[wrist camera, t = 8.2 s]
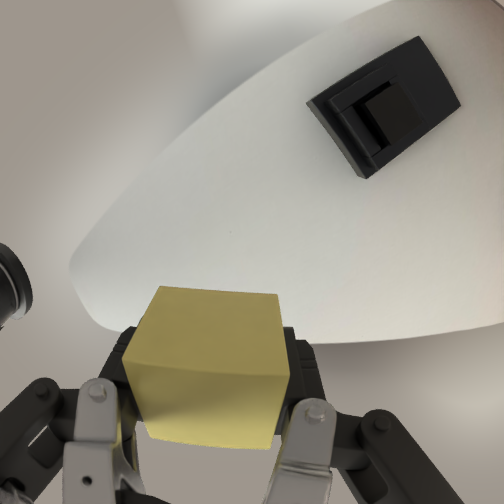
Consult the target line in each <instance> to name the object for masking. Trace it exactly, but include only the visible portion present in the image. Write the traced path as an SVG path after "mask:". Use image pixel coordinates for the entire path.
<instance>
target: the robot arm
mask: <svg viewBox="0 0 504 504" xmlns="http://www.w3.org/2000/svg"><path fill="white" fill-rule="evenodd" d="M19 306H20V297H19V292H18V288H17V285H16V283H15V281H14V279H13V277H12V275H11V273H10V271H9V270H8V268H7V267H6V266H5V265H4V263H3V262H2V261H1V260H0V330H1V329H2V328H3V327H1V326H2V325H3V323H5V321H6V320H7V319H8V318H9V317H10V316H11V315H13V314H14V313H15V312H16V311H17V310H18V309H19ZM142 318H143V317H142ZM142 318H141V319H142ZM140 321H141V320H140ZM139 323H140V322H139ZM138 325H139V324H138ZM137 327H138V326H137ZM137 327H132V326H130V327H129V328H128V329H126V330H125V331H124V332H123V333H121V335H120V337H119V339H118V341H117V344H115V346H114V348H113V351H112V352H111V353H110V356H109V357H108V359H107V361H106V363H105V365H104V367H103V369H102V371H101V372H100V374H99V377H98V378H94V379H91V380H88V381H87V382H85V383H84V384H83V385H82V386H81V388H80V389H60V388H59V386H58V385H57V383H56V382H55V381H54V380H52V379H50V378H39V379H37V380H35V381H33V382H32V383H31V384H30V385H29V386H28V387H26V388H25V389H24V390H23V391H22V392H21V393H20V394H19V395H18V396H17V397H16V398H15V399H14V400H13V401H12V402H10V404H9V405H7V406H6V408H4V409H3V410H2V411H1V412H0V504H33V502H34V501H35V500H36V499H37V498H38V496H39V495H40V494H41V493H42V491H43V490H44V489H45V488H46V486H47V485H48V484H49V483H50V482H51V480H52V479H53V478H54V477H55V475H56V474H57V473H58V472H59V470H60V469H61V468H62V467H63V479H62V480H63V481H62V482H63V483H62V492H63V493H62V496H63V504H170V503H168V502H165V501H163V500H160V499H158V498H156V497H153V496H149V495H146V492H145V488H144V485H143V482H142V479H141V476H140V471H139V463H138V453H137V441H136V432H135V425H136V422H137V421H142V422H144V421H143V418H142V416H141V413H140V411H139V408H138V406H137V403H136V400H135V398H134V395H133V392H132V389H131V386H130V384H129V381H128V378H127V375H126V372H125V368H124V365H123V362H122V357H123V355H124V353H125V351H126V349H127V347H128V345H129V343H130V341H131V339H132V337H133V335H134V333H135V331H136V329H137ZM283 331H284V338H285V344H286V351H287V357H288V364H289V371H290V377H289V381H288V385H287V389H286V393H285V397H284V401H283V404H282V408H281V412H280V416H279V419H278V423H277V426H276V430H275V433H274V435H281V440H282V445H281V447H280V450H279V454H278V457H277V460H276V463H275V467H274V469H273V473H272V475H271V479H270V481H269V484H268V487H267V490H266V493H265V495H264V498H263V500H262V503H261V504H328V500H329V495H330V490H331V484H332V471H330V467H332V468H337V469H338V470H339V472H340V474H341V476H342V477H343V479H344V481H345V482H346V484H347V486H348V487H349V489H350V490H351V492H352V494H353V496H354V497H355V499H356V500H357V502H358V504H464V503H463V501H462V500H461V499H460V498H459V496H458V495H457V494H456V492H455V491H454V490H453V488H452V487H451V486H450V485H449V483H448V482H447V481H446V480H445V478H444V477H443V476H442V474H441V473H440V472H439V470H438V469H437V468H436V467H435V465H434V464H433V463H432V462H431V460H430V459H429V458H428V456H427V455H426V454H425V453H424V451H423V450H422V449H421V448H420V446H419V445H418V444H417V442H416V441H415V440H414V439H413V438H412V436H411V435H410V434H409V432H408V431H407V430H406V429H405V427H404V426H403V425H402V424H401V422H400V421H399V420H398V419H397V418H396V416H395V415H394V414H392V413H391V412H389V411H386V410H382V409H376V410H372V411H369V412H368V413H366V414H365V416H364V417H358V416H352V415H346V414H342V413H340V412H337V411H336V410H335V409H334V407H333V406H332V405H331V404H330V403H328V402H327V401H326V398H325V394H324V390H323V386H322V382H321V378H320V374H319V370H318V368H317V363H316V360H315V355H314V351H313V348H312V347H311V346H310V345H309V343H308V342H307V341H306V340H296V339H295V334H294V329H293V327H283ZM46 425H47V428H46V429H45V430H44V431H43V432H42V433H41V435H40V436H39V437H38V438H37V439H36V440H35V441H34V442H33V443H32V444H31V445H30V446H29V447H28V445H29V443H30V442H31V441H32V440H33V439H34V438H35V437H36V436H37V435H38V434H39V432H40V431H41V430H42V429H43V428H44V427H45V426H46Z"/></svg>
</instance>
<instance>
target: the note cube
mask: <svg viewBox="0 0 504 504" xmlns="http://www.w3.org/2000/svg"><path fill="white" fill-rule="evenodd" d="M122 362H123V365H124V368H125V372H126V375H127V378H128V381H129V384H130V386H131V389H132V392H133V395H134V398H135V400H136V403H137V406H138V408H139V411H140V413H141V416H142V418H143V421H144V423H145V426H146V428H147V430H148V432H149V435H150V437H151V438H155V439H161V440H167V441H172V442H178V443H186V444H193V445H202V446H211V447H223V448H240V449H270V447H271V444H272V440H273V437H274V433H275V430H276V426H277V423H278V419H279V416H280V412H281V408H282V404H283V401H284V397H285V393H286V389H287V385H288V381H289V377H290V371H289V364H288V357H287V351H286V344H285V338H284V331H283V325H282V318H281V312H280V306H279V300H278V295H277V294H265V293H247V292H231V291H216V290H203V289H190V288H178V287H167V286H159V288H158V290H157V292H156V293H155V295H154V297H153V299H152V301H151V303H150V304H149V306H148V308H147V310H146V312H145V314H144V316H143V318H142V319H141V321H140V323H139V325H138V327H137V329H136V331H135V333H134V335H133V337H132V339H131V341H130V343H129V345H128V347H127V349H126V351H125V353H124V355H123V357H122Z"/></svg>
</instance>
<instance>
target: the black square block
mask: <svg viewBox="0 0 504 504" xmlns="http://www.w3.org/2000/svg"><path fill="white" fill-rule="evenodd" d="M355 107H356V109H357V110H358V112H359V113H360V115H361V116H362V117H363V119H364V120H365V122H366V123H367V125H368V126H369V128H370V129H371V131H372V132H373V134H374V136H375V137H376V139H377V140H378V142H379V144H380V145H389V146H393V145H394V144H395V143H397V142H398V141H399V140H401V139H402V138H403V137H405V136H406V135H407V134H409V133H410V132H411V131H413V130H414V129H415V128H417V127H418V126H419V125H420V124H422V123H423V122H422V120H421V118H420V116H419V115H418V113H417V111H416V109H415V108H414V106H413V104H412V103H411V101H410V99H409V98H408V96H407V95H406V93H405V91H404V90H403V88H402V87H401V85H400V84H399V82H396V83H392V84H389V85H386V86H384V87H383V88H381V89H380V90H378V91H377V92H375V93H374V94H372V95H371V96H369V97H368V98H366V99H365V100H363V101H362V102H360V103H359V104H357V105H356V106H355Z"/></svg>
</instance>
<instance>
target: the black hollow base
mask: <svg viewBox="0 0 504 504" xmlns="http://www.w3.org/2000/svg"><path fill="white" fill-rule="evenodd" d="M396 82H399V84H400V85H401V87H402V88H403V90H404V91H405V93H406V95H407V96H408V98H409V99H410V101H411V103H412V104H413V106H414V108H415V109H416V111H417V113H418V115H419V116H420V118H421V120H422V122H423V123H422V124H420V125H419V126H418V127H417V128H415V129H414V130H413V131H411V132H410V133H409V134H407V135H406V136H405V137H403V138H402V139H401V140H399V141H398V142H397V143H395V144H394V145H393V146H389V145H380V144H379V142H378V140H377V139H376V137H375V136H374V134H373V132H372V131H371V129H370V128H369V126H368V125H367V123H366V122H365V120H364V119H363V117H362V116H361V115H360V113H359V112H358V110H357V109H356V107H355V106H356V105H357V104H359V103H360V102H362V101H363V100H365V99H366V98H368V97H369V96H371V95H372V94H374V93H375V92H377V91H378V90H380V89H381V88H383V87H384V86H386V85H389V84H392V83H396ZM306 105H307V106H308V107H309V108H310V110H311V111H312V112H313V113H314V115H315V116H316V117H317V119H318V120H319V121H320V123H321V124H322V125H323V127H324V128H325V129H326V131H327V132H328V133H329V135H330V136H331V137H332V139H333V140H334V142H335V143H336V144H337V146H338V147H339V149H340V150H341V152H342V153H343V154H344V156H345V157H346V159H347V160H348V162H349V163H350V165H351V166H352V168H353V169H354V171H355V172H356V174H357V176H359V177H362V178H364V179H368V178H369V177H370V176H371V175H373V174H374V173H375V172H377V171H378V170H379V169H381V168H382V167H383V166H385V165H386V164H387V163H388V162H390V161H391V160H392V159H394V158H395V157H396V156H398V155H399V154H400V153H401V152H403V151H404V150H405V149H407V148H408V147H409V146H411V145H412V144H413V143H414V142H416V141H417V140H418V139H420V138H421V137H422V136H423V135H425V134H426V133H427V132H429V131H430V130H431V129H432V128H434V127H435V126H436V125H437V124H439V123H440V122H441V121H443V120H444V119H445V118H446V117H448V116H449V115H450V114H452V113H453V112H454V111H455V110H457V109H458V108H459V107H460V106H461V104H460V102H459V101H458V99H457V97H456V95H455V93H454V91H453V89H452V87H451V85H450V84H449V82H448V80H447V78H446V77H445V75H444V73H443V71H442V70H441V68H440V67H439V65H438V63H437V62H436V60H435V59H434V57H433V55H432V54H431V52H430V51H429V49H428V48H427V47H426V45H425V44H424V42H423V41H422V39H421V38H420V37H419V36H417V37H415V38H413V39H411V40H409V41H407V42H405V43H403V44H401V45H399V46H397V47H395V48H394V49H392V50H390V51H388V52H386V53H385V54H383V55H381V56H379V57H378V58H376V59H374V60H372V61H371V62H369V63H367V64H366V65H364V66H362V67H361V68H359V69H357V70H356V71H354V72H352V73H351V74H349V75H348V76H346V77H344V78H343V79H341V80H340V81H338V82H337V83H335V84H333V85H332V86H330V87H329V88H327V89H326V90H324V91H323V92H321V93H320V94H318V95H317V96H315V97H314V98H312V99H311V100H309V101H308V102H307V103H306Z"/></svg>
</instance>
